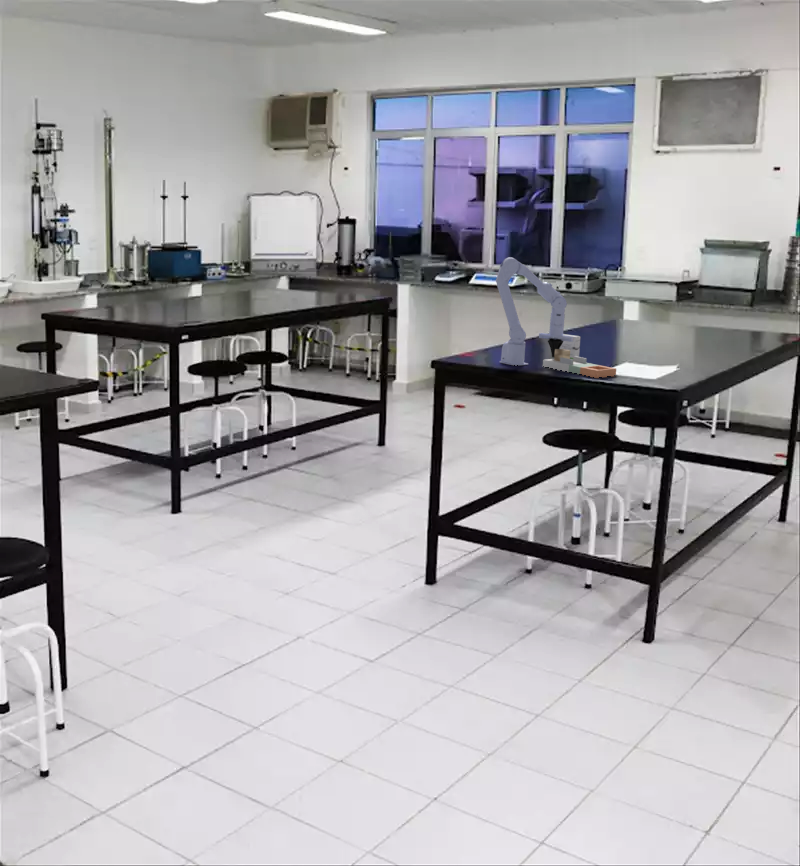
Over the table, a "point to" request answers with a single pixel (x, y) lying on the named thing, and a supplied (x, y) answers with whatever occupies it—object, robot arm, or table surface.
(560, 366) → the channel deck
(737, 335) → the table surface
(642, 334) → the table surface
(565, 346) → the ink box
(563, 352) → the maple block
